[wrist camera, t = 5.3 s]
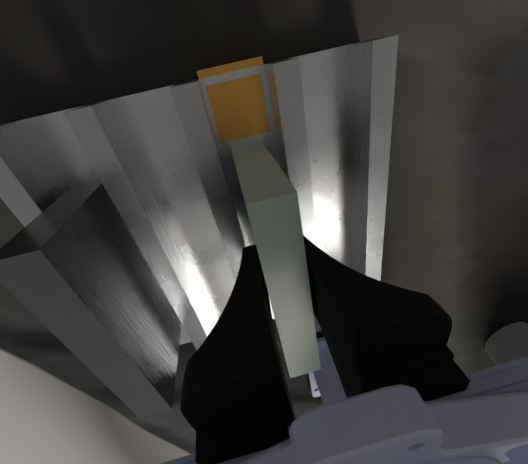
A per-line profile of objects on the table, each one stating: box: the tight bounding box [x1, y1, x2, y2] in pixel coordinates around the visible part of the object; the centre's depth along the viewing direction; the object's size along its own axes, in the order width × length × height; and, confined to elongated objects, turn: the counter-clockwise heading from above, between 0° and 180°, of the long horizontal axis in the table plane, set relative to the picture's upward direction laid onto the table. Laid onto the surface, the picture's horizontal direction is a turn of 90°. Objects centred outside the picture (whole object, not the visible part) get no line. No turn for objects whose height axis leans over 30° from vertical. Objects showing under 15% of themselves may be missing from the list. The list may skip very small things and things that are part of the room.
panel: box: [232, 144, 321, 378], centre depth 13 cm, size 10×2×6 cm, turn 11°
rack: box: [0, 35, 398, 418], centre depth 13 cm, size 16×16×7 cm
